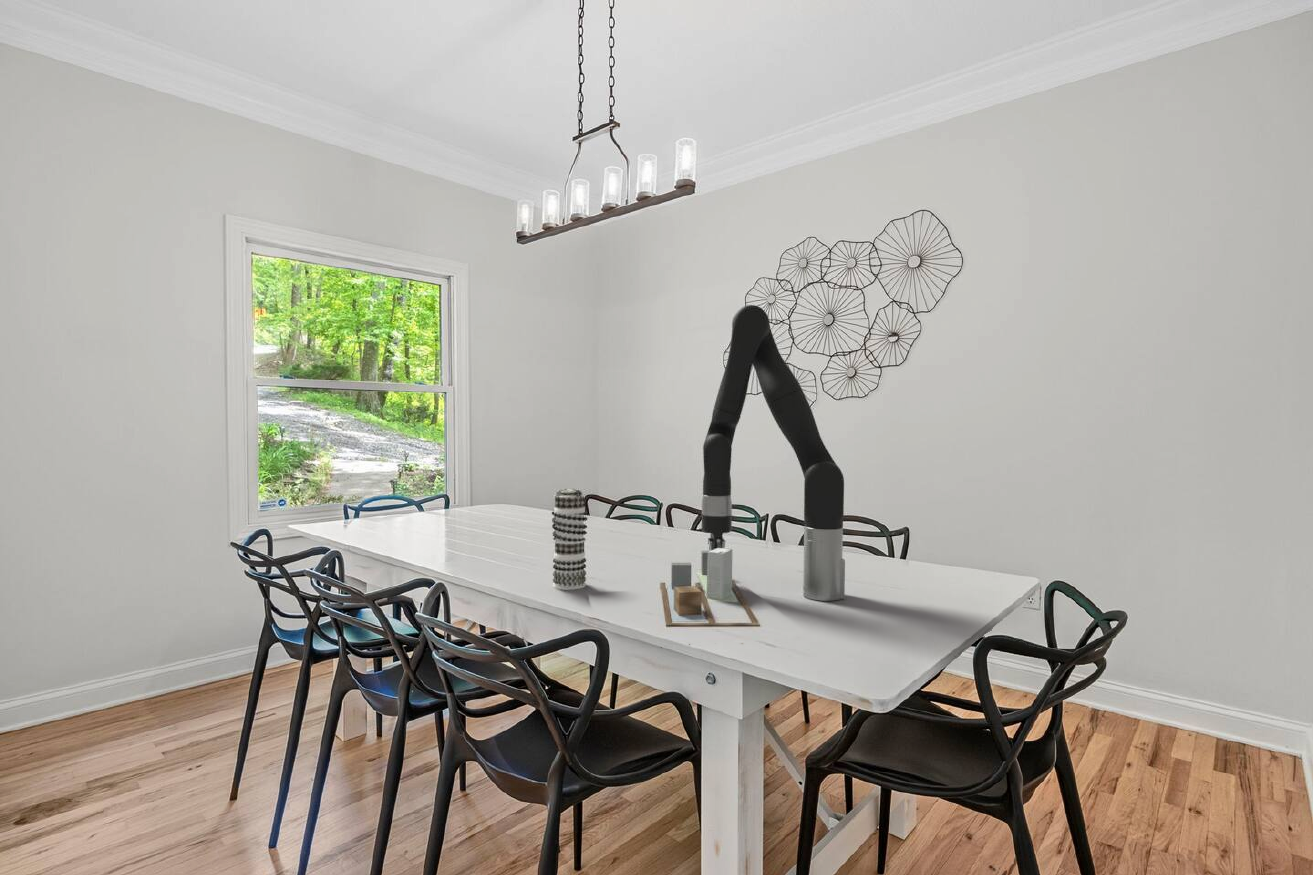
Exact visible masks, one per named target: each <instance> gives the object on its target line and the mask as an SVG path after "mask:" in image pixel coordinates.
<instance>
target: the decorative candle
mask: <svg viewBox="0 0 1313 875" xmlns="http://www.w3.org/2000/svg"><path fill="white" fill-rule="evenodd" d="M585 496H586V494H583V492H582V491H581V490H580V489H578V488H560V489H558V491H556V494H554V495H553V497H554V504H555V505H554V511H551V515H552V516H553V517H552V518H551V522H552V523H553V524H552V526H551V529H553V530H554V531H552V536H553V538H552V540H553V543H555V544H554V552H553V553H554V558H553V560H552V562H553V563H554V564H553V565H552V568H553V569H554V571H553V573H552V576H553V578H552V582H553V584H552V586H553V587H552V588H554V589H557V590H561V591H562V590H564V591H566V590H567V591H570V590H571V591H572V590H580V589H583V588H585V587H586V586H587V584H586V582H587V577H586V576H587V571H586V570H585V569H586V568H587V565H586V564H585V563H586V562H587V558H586V552H585V542H587V541H586V540H587V539H586V537H585V535H587V533H588V532H587V531H586V529H587V528H588V526H587V525H586V524H585V522H586V521H588V518H587V515H588V514H589V512H588V511H586V506H585Z"/></svg>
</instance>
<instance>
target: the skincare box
mask: <svg viewBox="0 0 1313 875" xmlns="http://www.w3.org/2000/svg"><path fill="white" fill-rule="evenodd" d="M708 551H709V550H708ZM732 583H733V548H725V547H724V548H716V549H714V550H711V551H709V552H708V560H707V595H706V599H708V598H710V599H717V600H724V599H726V598H727V597H729V596H731V595H732V591H733V588H732Z"/></svg>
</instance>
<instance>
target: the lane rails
mask: <svg viewBox="0 0 1313 875" xmlns="http://www.w3.org/2000/svg"><path fill="white" fill-rule="evenodd" d="M659 586H660V588H659V589H660V591H661V599H662V606H663V613H664V622H665V627H667V628H668V627H670V628H671V627H673V628H675V627H683V628H684V627H760V625H761V624H760V623H759V621H758V619H757V618H756V616H755V614H754V612H753V610H752V609H751V606H750V605H749V604H748V602H747V600H746V599H745V597H744V595H743V594H742V592H741V590H740V588H739V586H738V585H737V583H736V582H732V590H733V592H734V594H735V596H737V597H736V598H738V601H739V602H740V604H741V605H742V608H743V609H744V612H745V613H746V615H747V616H748V619H749V620H750V622H716V621H715V618H714V615H713V613H712V610H711V607H710V606H709V601H708V599H707V596H706V593H705V591H704V588H702V586H701V584H700V582H695V585H694V586H696V587H697V588H698V589H699V590H700V591H702V606H703V607H702V608H703V609H704V614H705V615H706V619H707V622H672V618H671V611H670V605H669V604H670V603H669V598H668V591H667V588H666V587H667V586H666V582H660V584H659Z"/></svg>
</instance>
